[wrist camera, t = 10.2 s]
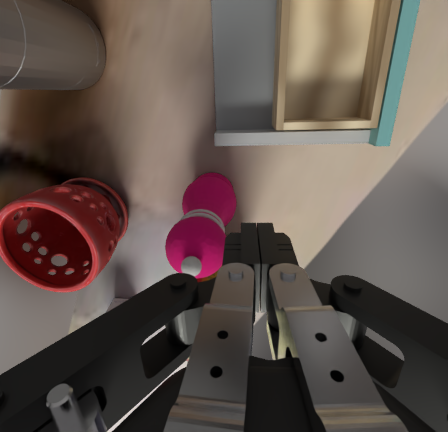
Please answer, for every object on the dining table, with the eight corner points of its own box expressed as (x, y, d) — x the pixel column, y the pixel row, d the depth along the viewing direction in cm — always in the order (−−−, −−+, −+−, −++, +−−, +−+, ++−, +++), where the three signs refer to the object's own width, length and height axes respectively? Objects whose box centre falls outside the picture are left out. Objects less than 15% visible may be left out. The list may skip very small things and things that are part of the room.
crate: (271, 125, 36) (276, 130, 31) (277, -10, 30) (283, -28, 26) (359, 123, 35) (377, 128, 31) (382, -16, 29) (407, -35, 25)
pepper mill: (189, 166, 40) (145, 229, 22) (239, 171, 40) (237, 239, 22) (187, 212, 43) (147, 301, 25) (234, 217, 43) (228, 310, 24)
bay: (217, 140, 38) (213, 149, 33) (211, -25, 31) (204, -51, 25) (367, 137, 37) (389, 145, 31) (398, -37, 29) (434, -66, 24)
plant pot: (63, 154, 40) (-3, 178, 29) (147, 197, 42) (114, 234, 31) (43, 225, 45) (-20, 267, 34) (118, 259, 47) (82, 310, 36)
